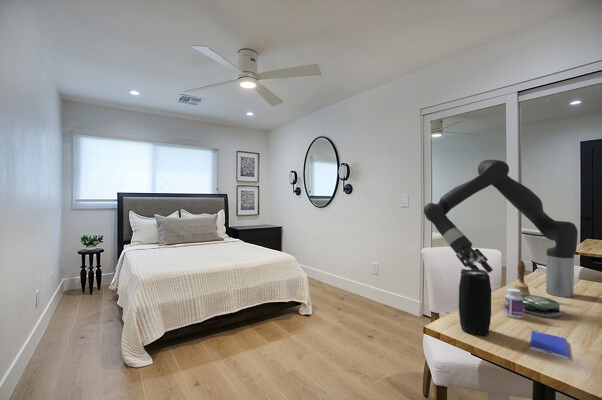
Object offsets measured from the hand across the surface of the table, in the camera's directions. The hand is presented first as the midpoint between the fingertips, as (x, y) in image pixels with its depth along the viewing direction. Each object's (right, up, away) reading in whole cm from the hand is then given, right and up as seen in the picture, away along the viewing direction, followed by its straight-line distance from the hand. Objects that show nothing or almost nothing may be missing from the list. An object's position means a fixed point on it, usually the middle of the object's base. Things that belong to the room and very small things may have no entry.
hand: (485, 272), depth 111 cm
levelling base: (+18, -14, -3) cm, 23 cm away
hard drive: (-1, -15, -29) cm, 32 cm away
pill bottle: (+5, -14, -8) cm, 17 cm away
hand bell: (+24, -14, +12) cm, 30 cm away
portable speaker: (-17, -14, -20) cm, 30 cm away
